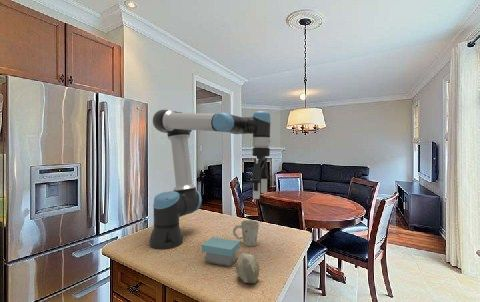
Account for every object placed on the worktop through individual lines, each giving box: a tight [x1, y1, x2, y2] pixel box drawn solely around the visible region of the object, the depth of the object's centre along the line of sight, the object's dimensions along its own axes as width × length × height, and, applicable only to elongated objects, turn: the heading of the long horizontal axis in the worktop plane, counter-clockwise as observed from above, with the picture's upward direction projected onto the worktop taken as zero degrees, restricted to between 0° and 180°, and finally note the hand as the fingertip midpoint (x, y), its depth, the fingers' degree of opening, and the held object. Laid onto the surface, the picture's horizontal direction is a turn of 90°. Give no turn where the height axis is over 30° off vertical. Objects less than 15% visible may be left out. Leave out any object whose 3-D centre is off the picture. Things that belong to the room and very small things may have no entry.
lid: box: [201, 236, 241, 257], centre depth 98 cm, size 13×9×3 cm
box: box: [205, 251, 237, 268], centre depth 98 cm, size 10×6×6 cm, turn 69°
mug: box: [232, 219, 260, 247], centre depth 116 cm, size 8×13×10 cm, turn 78°
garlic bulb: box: [235, 253, 260, 284], centre depth 83 cm, size 9×8×10 cm
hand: (260, 195), depth 107 cm, fingers open, 13 cm apart
